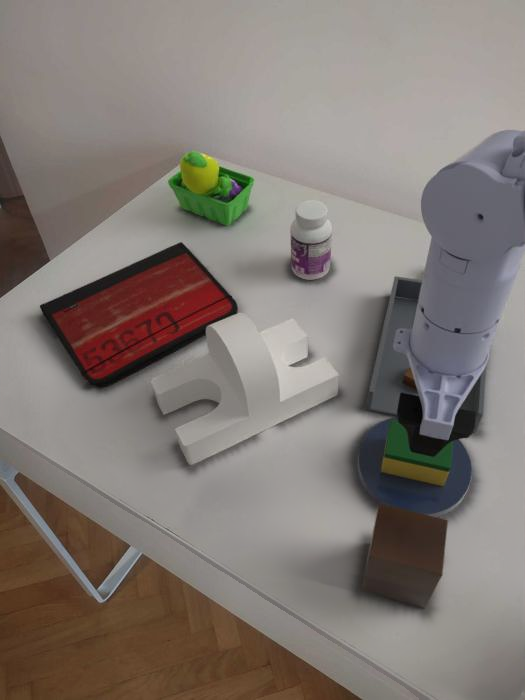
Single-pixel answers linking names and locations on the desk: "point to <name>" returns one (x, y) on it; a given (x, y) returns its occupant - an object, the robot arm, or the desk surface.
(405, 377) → the orange-brown cube
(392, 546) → the brown wooden block
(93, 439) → the desk surface
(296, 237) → the pill bottle
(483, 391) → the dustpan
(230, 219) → the fruit basket
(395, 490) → the plate
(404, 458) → the sponge
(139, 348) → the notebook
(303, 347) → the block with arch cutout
